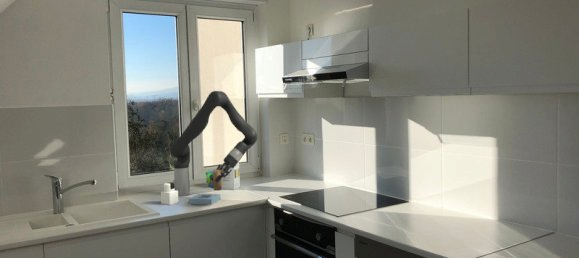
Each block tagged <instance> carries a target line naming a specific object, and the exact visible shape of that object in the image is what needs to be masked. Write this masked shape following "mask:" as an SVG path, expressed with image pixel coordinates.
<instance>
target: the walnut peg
mask: <svg viewBox="0 0 579 258" xmlns="http://www.w3.org/2000/svg"><path fill="white" fill-rule="evenodd" d="M212 171H213V184H214V187H213V191H222V190H223V189H222V178H221V180H220V181H219V182H218V183H217V182H216V181H215V179H216V178H217V177H218V176H220V175H219V174H220V173H221V170H216V169H212Z"/></svg>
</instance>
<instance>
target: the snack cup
mask: <svg viewBox="0 0 579 258" xmlns="http://www.w3.org/2000/svg"><path fill="white" fill-rule="evenodd" d="M205 176H206V181H205V182H206V183H207V185H208V187H209V188H214V184H213V180H211V178H212V177H213V170H209V171H206V172H205Z"/></svg>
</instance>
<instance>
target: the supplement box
mask: <svg viewBox="0 0 579 258" xmlns="http://www.w3.org/2000/svg"><path fill="white" fill-rule="evenodd" d="M222 164H223V163H221V164H220V165H222ZM231 170H232V171H231V172H230V173H229V174H228V175H227V176H226V177H225V178H224V177H223V178H222V190H226V191H227V190H228V191H229V190H230V191H235V190H237V189H239V188H240V187H241V185H240V184H241V180H240V179H241V177H240V175H241V174H240V162H238V163H237V164H236V166H235V167H234V168H231ZM240 189H241V188H240Z"/></svg>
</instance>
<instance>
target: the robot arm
mask: <svg viewBox="0 0 579 258" xmlns="http://www.w3.org/2000/svg"><path fill="white" fill-rule="evenodd" d="M218 107H220V108H221V109H222V110H224V111H225V112H226V114H227V116H228V118H229V120H230V122H231V124H232V125H233V126H234V128H236V130H237V131H239V132H241V134H242V135H243V136H244V138H243V139H242V140H241V141H238V142H237V143H236V144H235V146H234V147H233V148H232V149H231V150H230V151H229V152H228V153H227V154H226V156H225V157H224V158H223V163H221V164H222V165H221V164H218V165H217V166H216V167H217V168H215V170H221V173H220V174H219V175H220V176H218V177H217V178H216V179H215V181H216V182H217V183H218V182H219V181H220V180H221V178H223V177H224V178H225V177H226V176H227V175H228V174H229V173H230V172H231V171H232V170H231V168H234V167H235V166H236V164H237V163H240V161H241V160H242V158H243V157H244V155H245V154H246V153H247V151H248V150H249V149H251V147H253V146H254V145H255V144H256V142H257V141H258V133H257V131H256V130H255V128H254V127H253V126H252V125H250V124H249V123H248V122H247V120H246V119H245V118H244V117H243V116H242V115H241V114H240V113H239V111H238V110H237V109H236V107H235V106H234V104H233V102H232V101H231V100H230V98H229V96H228V95H227V94H226V93H225V92H224V91H221V90H213V91H211V92H209V94H208V96H207V97H206V99H205V101H204V102H203V104H202V105H201V107H200V109H198V111H197V113H196V114H195V115H194V116H193V118H192V120H191V121H190V122H189V123H188V125H187V127H186V128H185V130H184V131H183V132H182V133H181V134H180V136H179V137H178V138H177V140H175V142H173V144H172V145H171V147H170V154H171V156H172V157H174V158H176V160H175V162H174V163H173V173H174V174H173V175H174V176H173V177H174V179H173V180H172V183H174V187H175V190H176V191H178V197H186V196H189V195H191V190H190V189H191V188H190V162H191V148H190V145H189V144H190V143H191V142H192V141H193V140H195V139H196V138H197V137H199V136H200V135H201V134H202V133H203V132H204V130H205V129H206V128H207V126H208V125H209V120H210V116H211V114H212V113H213V112H214V110H215V109H216V108H218ZM211 180H213V177H212V178H211Z"/></svg>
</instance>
